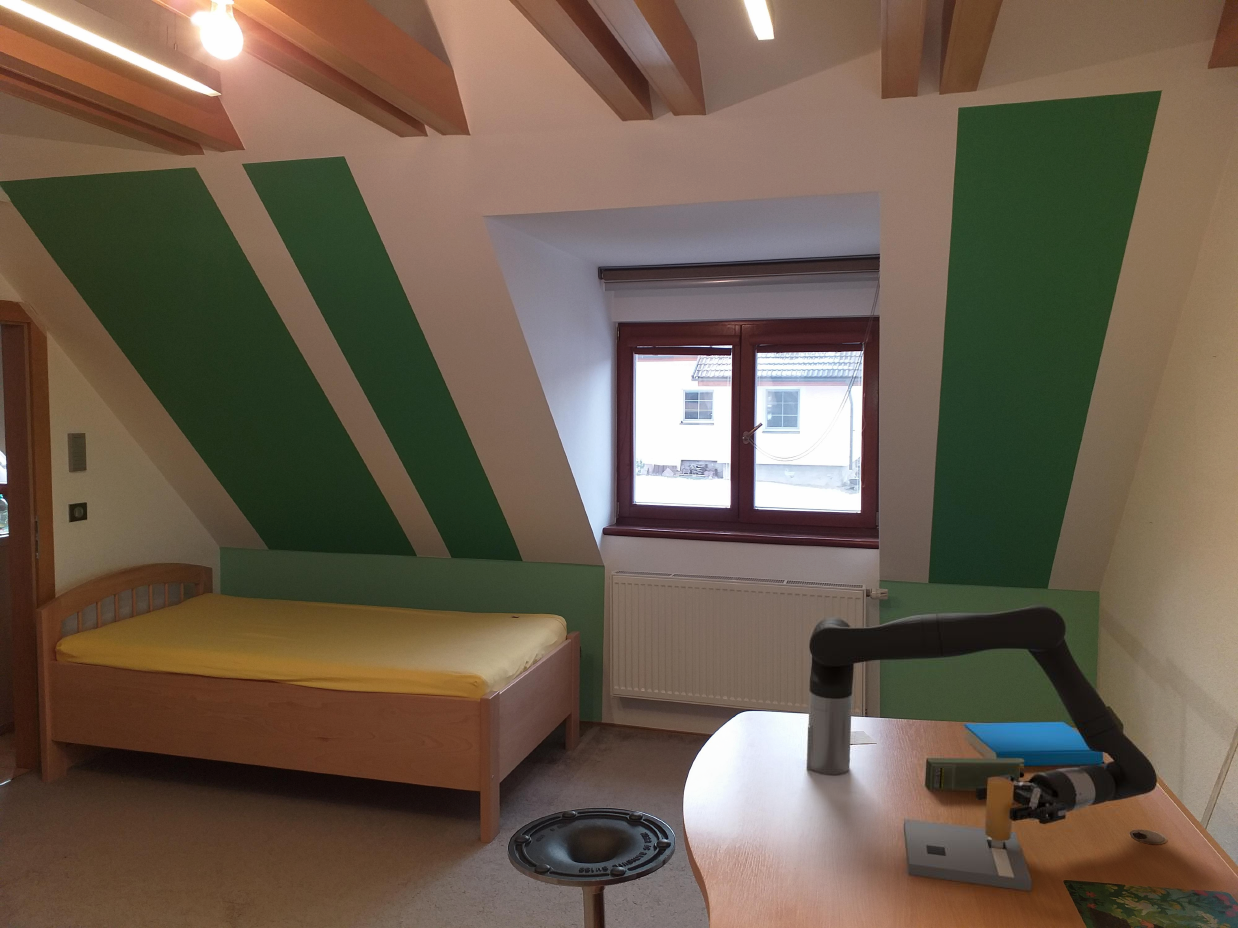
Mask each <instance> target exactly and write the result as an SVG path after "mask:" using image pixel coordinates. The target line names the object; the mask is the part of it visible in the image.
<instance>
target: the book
mask: <svg viewBox="0 0 1238 928" xmlns="http://www.w3.org/2000/svg"><path fill="white" fill-rule="evenodd" d="M963 726H964V735H963V738H964V740H966V741H967V742H968V743H969V744H970V745H971V746H973V748H974V749H975V750H976V751H978V752H979V753H980V754H981V755H982V756H983V758H1019V759H1023V760H1024V761H1025V762H1022V763H1020V764H1024V767H1031V766H1032V767H1036V766H1037V767H1040V766H1074V765H1075V766H1079V765H1080V766H1087V765H1101V764H1104V763H1103V762H1104V752H1094V751H1092V750H1090V749H1089V748H1088V746H1087V745H1086V743H1085V742H1084V740H1083V738H1082V736H1081V735H1080V733H1079V731H1078V730H1075V729H1074V728H1073V727H1072V726H1070V725H1068V724H1067V723H1065V722H1064V721H1048V722H1045V721H1043V722H1041V721H1040V722H1036V721H1035V722H990V723H989V722H988V723H986V722H985V723H984V722H983V723H982V722H981V723H964V724H963Z"/></svg>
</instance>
